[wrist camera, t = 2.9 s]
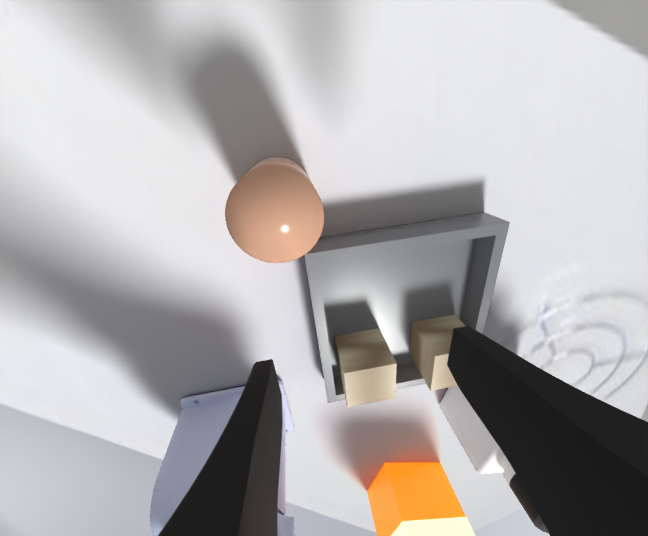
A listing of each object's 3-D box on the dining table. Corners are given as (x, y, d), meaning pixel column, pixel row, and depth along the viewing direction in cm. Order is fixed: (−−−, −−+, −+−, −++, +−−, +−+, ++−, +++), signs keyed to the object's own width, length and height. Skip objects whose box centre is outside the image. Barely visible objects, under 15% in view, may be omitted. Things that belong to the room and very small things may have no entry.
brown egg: (253, 229, 18) (239, 269, 13) (236, 161, 16) (212, 175, 11) (315, 220, 18) (328, 255, 13) (307, 152, 16) (318, 161, 11)
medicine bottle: (489, 404, 32) (591, 538, 21) (437, 405, 30) (518, 549, 20) (517, 361, 29) (653, 494, 18) (460, 360, 27) (571, 504, 17)
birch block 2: (409, 354, 25) (430, 390, 21) (412, 322, 23) (435, 356, 19) (449, 347, 25) (476, 381, 22) (454, 314, 23) (485, 346, 20)
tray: (324, 379, 26) (327, 402, 24) (301, 240, 19) (304, 254, 16) (457, 354, 27) (473, 374, 24) (484, 212, 20) (509, 222, 17)
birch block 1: (338, 367, 24) (347, 407, 21) (334, 336, 22) (343, 373, 19) (379, 360, 25) (395, 397, 21) (379, 327, 23) (396, 363, 19)
